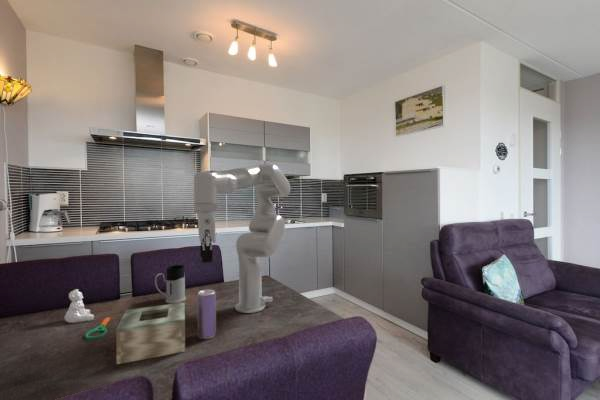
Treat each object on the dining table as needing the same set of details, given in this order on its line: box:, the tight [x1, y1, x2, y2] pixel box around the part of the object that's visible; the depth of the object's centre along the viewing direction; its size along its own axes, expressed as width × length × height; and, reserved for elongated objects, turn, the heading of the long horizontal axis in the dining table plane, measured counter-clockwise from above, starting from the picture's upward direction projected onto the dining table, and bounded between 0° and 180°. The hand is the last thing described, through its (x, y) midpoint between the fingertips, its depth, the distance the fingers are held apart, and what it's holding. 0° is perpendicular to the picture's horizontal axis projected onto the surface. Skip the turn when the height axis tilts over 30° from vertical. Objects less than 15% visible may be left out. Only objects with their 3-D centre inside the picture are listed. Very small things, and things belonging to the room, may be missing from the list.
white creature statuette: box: [63, 288, 95, 324], centre depth 112 cm, size 10×9×12 cm
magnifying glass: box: [85, 317, 111, 341], centre depth 104 cm, size 15×6×2 cm, turn 18°
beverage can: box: [197, 289, 217, 340], centre depth 99 cm, size 6×6×15 cm
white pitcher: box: [154, 264, 187, 304], centre depth 131 cm, size 9×14×15 cm, turn 148°
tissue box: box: [115, 301, 186, 365], centre depth 92 cm, size 18×15×10 cm
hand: (206, 259), depth 98 cm, fingers open, 9 cm apart
